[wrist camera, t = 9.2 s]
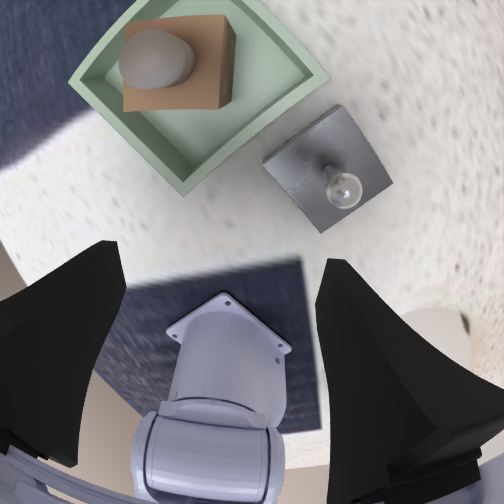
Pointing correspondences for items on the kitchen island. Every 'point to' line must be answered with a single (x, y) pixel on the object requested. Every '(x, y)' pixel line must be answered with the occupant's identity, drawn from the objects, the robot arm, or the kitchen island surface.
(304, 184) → the stud plate
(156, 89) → the brown square bottle
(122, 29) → the bin
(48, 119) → the kitchen island surface
